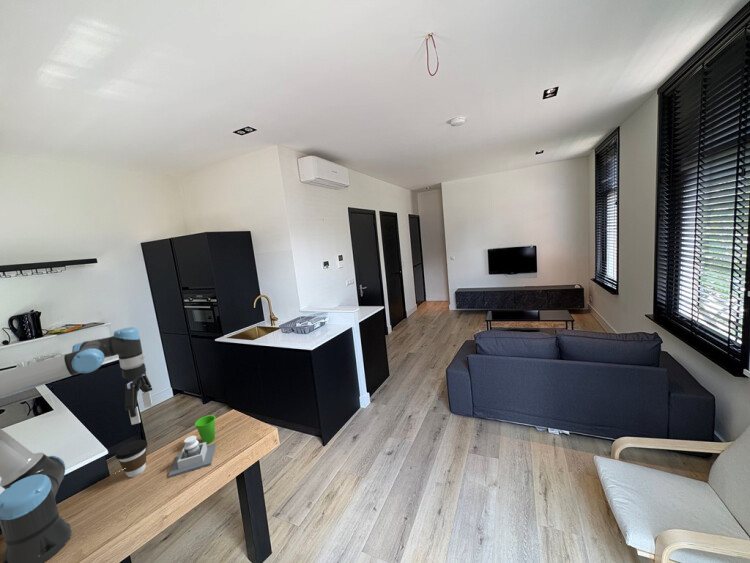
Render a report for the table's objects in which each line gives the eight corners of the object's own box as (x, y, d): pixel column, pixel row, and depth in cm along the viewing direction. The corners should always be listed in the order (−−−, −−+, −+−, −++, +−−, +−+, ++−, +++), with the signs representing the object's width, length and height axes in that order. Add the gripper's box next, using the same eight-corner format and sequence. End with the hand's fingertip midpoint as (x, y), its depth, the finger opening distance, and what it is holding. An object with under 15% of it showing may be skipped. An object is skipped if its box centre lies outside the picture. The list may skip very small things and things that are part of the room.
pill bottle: (186, 458, 136) (182, 438, 134) (200, 452, 139) (197, 432, 138) (186, 465, 131) (182, 444, 130) (201, 459, 134) (198, 439, 133)
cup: (195, 443, 148) (191, 422, 146) (213, 432, 155) (209, 413, 154) (204, 449, 143) (200, 428, 141) (222, 438, 150) (219, 417, 148)
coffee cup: (154, 469, 132) (149, 444, 130) (123, 486, 124) (116, 459, 122) (148, 459, 139) (143, 435, 138) (118, 474, 131) (112, 449, 130)
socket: (168, 477, 126) (166, 468, 126) (177, 456, 139) (176, 447, 139) (211, 465, 131) (209, 455, 131) (216, 445, 145) (214, 437, 144)
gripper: (131, 375, 111) (142, 428, 114) (154, 354, 134) (162, 398, 137) (106, 380, 108) (117, 434, 111) (134, 357, 132) (143, 402, 135)
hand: (142, 414), depth 124 cm, fingers open, 13 cm apart
